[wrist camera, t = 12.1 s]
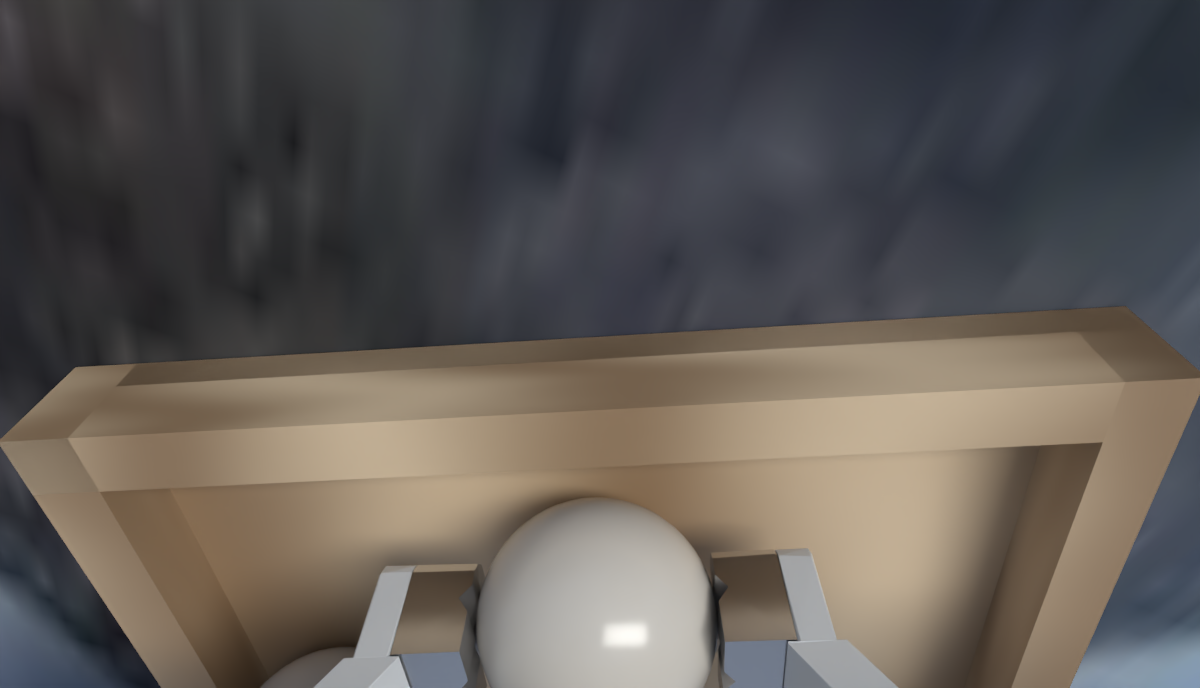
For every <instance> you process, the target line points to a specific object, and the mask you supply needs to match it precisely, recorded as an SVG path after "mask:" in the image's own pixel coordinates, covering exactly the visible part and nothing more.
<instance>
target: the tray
mask: <svg viewBox="0 0 1200 688" xmlns="http://www.w3.org/2000/svg"><path fill="white" fill-rule="evenodd" d="M1199 395H1200V371H1199V370H1198V369H1197V368H1195V367H1194V366H1193V365H1192V364H1191V363H1190V362H1189V361H1187V360H1186V359H1185V358H1184V357H1183V356H1182V355H1181V354H1179V353H1178V352H1177V351H1176V350H1175V349H1174V348H1173V347H1171V346H1170V345H1169V344H1168V343H1167V342H1166V341H1165V340H1164V339H1162V338H1161V337H1160V336H1159V335H1158V334H1157V333H1156V332H1154V331H1153V330H1152V329H1151V328H1150V327H1149V326H1148V325H1146V324H1145V323H1144V322H1143V321H1142V320H1141V319H1140V318H1138V317H1137V316H1136V315H1135V314H1134V313H1133V312H1132V311H1130V310H1129V309H1128V308H1127V307H1126V306H1120V307H1103V308H1086V309H1069V310H1051V311H1034V312H1017V313H1000V314H983V315H966V316H948V317H931V318H914V319H897V320H880V321H862V322H845V323H828V324H811V325H794V326H776V327H759V328H742V329H725V330H708V331H691V332H673V333H656V334H639V335H622V336H605V337H587V338H570V339H553V340H536V341H519V342H501V343H484V344H467V345H450V346H433V347H416V348H398V349H381V350H364V351H347V352H330V353H312V354H295V355H278V356H261V357H244V358H227V359H209V360H192V361H175V362H158V363H141V364H123V365H106V366H89V367H75V368H74V369H73V370H72V371H71V372H70V373H69V374H68V375H67V376H66V377H65V378H64V379H63V380H62V381H61V382H60V383H59V384H58V385H57V386H56V387H55V388H54V389H52V390H51V391H50V392H49V393H48V394H47V395H46V396H45V397H44V398H43V399H42V400H41V401H40V402H39V403H38V404H37V405H36V406H35V407H34V408H33V409H32V410H31V411H30V412H29V413H27V414H26V415H25V416H24V417H23V418H22V419H21V420H20V421H19V422H18V423H17V424H16V425H15V426H14V427H13V428H12V429H11V430H10V431H9V432H8V433H7V434H6V435H5V436H3V437H2V438H1V439H0V446H1V448H2V449H3V451H4V452H5V454H6V455H7V457H8V458H9V460H10V461H11V463H12V464H13V466H14V467H15V469H16V470H17V472H18V473H19V475H20V476H21V478H22V479H23V481H24V482H25V484H26V485H27V487H28V488H29V490H30V491H31V493H32V494H33V496H34V497H35V499H36V500H37V502H38V503H39V505H40V506H41V508H42V509H43V511H44V512H45V514H46V515H47V517H48V518H49V520H50V521H51V523H52V524H53V526H54V527H55V529H56V530H57V532H58V533H59V535H60V536H61V538H62V539H63V541H64V542H65V544H66V545H67V547H68V548H69V550H70V551H71V553H72V554H73V556H74V557H75V559H76V560H77V562H78V563H79V565H80V566H81V568H82V569H83V571H84V572H85V574H86V575H87V577H88V578H89V580H90V581H91V583H92V584H93V586H94V587H95V589H96V590H97V592H98V593H99V595H100V596H101V598H102V599H103V601H104V602H105V604H106V605H107V607H108V608H109V610H110V611H111V613H112V614H113V616H114V617H115V619H116V620H117V622H118V623H119V625H120V627H121V628H122V630H123V631H124V633H125V634H126V636H127V637H128V639H129V640H130V642H131V643H132V645H133V646H134V648H135V649H136V651H137V652H138V654H139V655H140V657H141V658H142V660H143V661H144V663H145V664H146V666H147V667H148V669H149V670H150V672H151V673H152V675H153V676H154V678H155V679H156V681H157V682H158V684H159V685H160V687H161V688H260V687H261V686H262V685H263V684H264V683H265V682H266V681H267V680H268V679H269V678H270V677H271V676H273V675H274V674H275V673H276V672H277V671H279V670H280V669H282V668H283V667H285V666H286V665H288V664H289V663H291V662H293V661H294V660H296V659H298V658H301V657H303V656H305V655H307V654H310V653H312V652H316V651H319V650H323V649H328V648H333V647H356V646H357V643H358V640H359V637H360V634H361V631H362V628H363V625H364V621H365V618H366V615H367V612H368V609H369V606H370V603H371V600H372V597H373V594H374V591H375V587H376V584H377V581H378V578H379V575H380V574H381V572H382V571H383V570H384V568H385V567H386V566H405V565H442V564H481V565H482V568H483V571H484V575H485V577H486V575H487V572H488V570H489V568H490V566H491V564H492V562H493V560H494V558H495V557H496V555H497V554H498V552H499V551H500V549H501V548H502V546H503V545H504V543H505V542H506V541H507V540H508V539H509V538H510V537H511V536H512V535H513V534H514V532H515V531H516V530H517V529H518V528H519V527H520V526H522V525H523V524H524V523H526V522H527V521H528V520H530V519H531V518H532V517H534V516H535V515H537V514H539V513H540V512H542V511H544V510H546V509H548V508H550V507H552V506H555V505H558V504H561V503H564V502H567V501H570V500H575V499H580V498H589V497H605V498H615V499H620V500H624V501H628V502H631V503H634V504H637V505H640V506H642V507H644V508H647V509H649V510H651V511H653V512H654V513H656V514H658V515H659V516H661V517H662V518H663V519H665V520H666V521H667V522H669V523H670V524H672V525H673V526H674V527H675V528H676V529H677V530H678V531H679V532H680V533H681V534H682V535H683V536H684V537H685V538H686V539H687V540H688V542H689V543H690V544H691V545H692V547H693V548H694V549H695V551H696V553H697V554H698V556H699V558H700V559H701V561H702V563H703V565H704V567H705V569H706V571H707V573H708V576H709V578H710V581H711V575H710V554H711V553H715V552H733V551H751V550H769V549H773V550H774V551H775V550H779V549H801V548H808V549H809V551H810V552H811V553H812V556H813V559H814V563H815V566H816V570H817V573H818V576H819V580H820V583H821V587H822V590H823V594H824V597H825V600H826V604H827V607H828V611H829V614H830V617H831V621H832V624H833V628H834V631H835V635H836V638H837V640H848V641H849V642H850V643H851V644H852V645H853V646H854V647H856V648H857V649H858V650H859V651H860V652H861V653H862V654H863V655H864V656H865V657H866V658H867V659H868V660H869V661H871V662H872V663H873V664H874V665H875V666H876V667H877V668H878V669H879V670H880V671H881V672H882V673H883V674H884V675H885V676H887V677H888V678H889V679H890V680H891V681H892V682H893V683H894V684H895V685H896V686H897V687H898V688H1070V685H1071V683H1072V681H1073V679H1074V676H1075V674H1076V672H1077V670H1078V667H1079V665H1080V663H1081V661H1082V658H1083V656H1084V654H1085V652H1086V649H1087V647H1088V645H1089V643H1090V640H1091V638H1092V636H1093V634H1094V631H1095V629H1096V627H1097V625H1098V622H1099V620H1100V618H1101V616H1102V613H1103V611H1104V609H1105V607H1106V604H1107V602H1108V600H1109V598H1110V595H1111V593H1112V591H1113V589H1114V586H1115V584H1116V582H1117V580H1118V577H1119V575H1120V573H1121V571H1122V568H1123V566H1124V564H1125V562H1126V559H1127V557H1128V555H1129V553H1130V550H1131V548H1132V546H1133V544H1134V541H1135V539H1136V537H1137V535H1138V532H1139V530H1140V528H1141V526H1142V523H1143V521H1144V519H1145V516H1146V514H1147V512H1148V510H1149V507H1150V505H1151V503H1152V501H1153V498H1154V496H1155V494H1156V492H1157V489H1158V487H1159V485H1160V483H1161V480H1162V478H1163V476H1164V474H1165V471H1166V469H1167V467H1168V465H1169V462H1170V460H1171V458H1172V456H1173V453H1174V451H1175V449H1176V447H1177V444H1178V442H1179V440H1180V438H1181V435H1182V433H1183V431H1184V429H1185V426H1186V424H1187V422H1188V420H1189V417H1190V415H1191V413H1192V411H1193V408H1194V406H1195V404H1196V402H1197V399H1198V397H1199ZM711 584H712V582H711ZM483 671H484V670H483ZM484 675H485V673H484ZM485 679H486V683H487V687H486V688H491V687H490V686H489V683H488V680H487V678H486V675H485ZM704 688H719V682H718V653H717V652H716V653H715V657H714V661H713V665H712V668H711V671H710V674H709V676H708V679H707V681H706V683H705V686H704Z"/></svg>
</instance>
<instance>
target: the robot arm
mask: <svg viewBox="0 0 1200 688" xmlns="http://www.w3.org/2000/svg"><path fill="white" fill-rule="evenodd" d="M710 575H711V582H712V587H713V592H714V597H715V601H716V605H717V615H718V637H717V646H716V652H717V653H718V682H719V688H898V687H897V686H896V685H895V684H894V683H893V682H892V681H891V680H890V679H889V678H888V677H887V676H885V675H884V674H883V673H882V672H881V671H880V670H879V669H878V668H877V667H876V666H875V665H874V664H873V663H872V662H871V661H869V660H868V659H867V658H866V657H865V656H864V655H863V654H862V653H861V652H860V651H859V650H858V649H857V648H856V647H854V646H853V645H852V644H851V643H850V642H849V641H848V640H837V638H836V635H835V631H834V628H833V624H832V621H831V617H830V614H829V611H828V607H827V604H826V600H825V597H824V594H823V590H822V587H821V583H820V580H819V576H818V573H817V570H816V566H815V563H814V559H813V556H812V553H811V552H810V551H809V549H808V548H801V549H779V550H775V551H774V550H773V549H769V550H751V551H733V552H715V553H711V554H710ZM484 579H485V575H484V571H483V568H482V565H481V564H442V565H405V566H386V567H385V568H384V570H383V571H382V572H381V574H380V575H379V578H378V581H377V584H376V587H375V591H374V594H373V597H372V600H371V603H370V606H369V609H368V612H367V615H366V618H365V621H364V625H363V628H362V631H361V634H360V637H359V640H358V643H357V646H356V649H355V652H354V655H353V658H343V659H342V660H341V661H340V662H339V663H338V664H337V665H336V666H335V667H334V668H333V669H332V670H331V671H330V672H329V673H328V674H327V675H326V676H325V677H324V678H323V679H322V680H320V681H319V682H318V683H317V684H316V685H315V686H314V687H313V688H486V687H487V683H486V679H485V675H484V671H483V667H482V665H481V660H480V656H479V651H478V645H477V634H476V619H477V608H478V601H479V597H480V594H481V590H482V586H483V582H484Z"/></svg>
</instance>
